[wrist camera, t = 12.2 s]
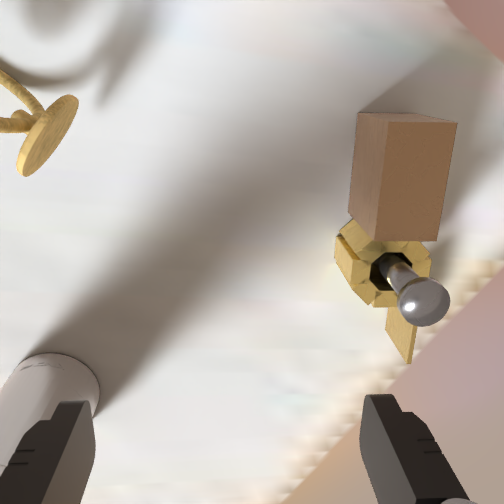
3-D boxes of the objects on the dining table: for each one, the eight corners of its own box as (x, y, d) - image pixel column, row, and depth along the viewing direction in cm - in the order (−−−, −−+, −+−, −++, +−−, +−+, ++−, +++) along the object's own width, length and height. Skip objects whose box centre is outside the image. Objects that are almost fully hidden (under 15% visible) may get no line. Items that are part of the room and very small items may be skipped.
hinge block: (391, 327, 48) (422, 373, 40) (327, 327, 47) (347, 375, 40) (423, 113, 40) (469, 122, 33) (347, 112, 40) (376, 121, 32)
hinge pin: (394, 229, 44) (454, 282, 33) (390, 263, 45) (445, 326, 34) (358, 229, 44) (405, 283, 32) (354, 264, 45) (398, 327, 34)
